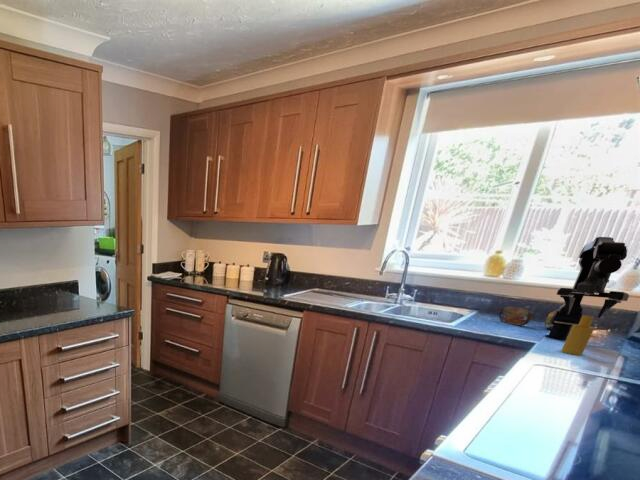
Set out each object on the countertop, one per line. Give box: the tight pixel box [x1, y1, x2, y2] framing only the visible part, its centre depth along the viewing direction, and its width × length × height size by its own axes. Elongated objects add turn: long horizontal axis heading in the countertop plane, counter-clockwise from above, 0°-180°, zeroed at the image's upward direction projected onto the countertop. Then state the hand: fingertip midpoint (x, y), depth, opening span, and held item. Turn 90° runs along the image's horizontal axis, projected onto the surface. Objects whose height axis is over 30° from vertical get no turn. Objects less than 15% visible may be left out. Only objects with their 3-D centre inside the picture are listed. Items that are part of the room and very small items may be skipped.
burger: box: [544, 310, 574, 330], centre depth 208 cm, size 14×14×10 cm
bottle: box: [561, 315, 595, 356], centre depth 168 cm, size 6×6×15 cm
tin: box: [498, 305, 533, 326], centre depth 218 cm, size 15×3×8 cm, turn 6°
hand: (582, 316), depth 167 cm, fingers open, 9 cm apart
